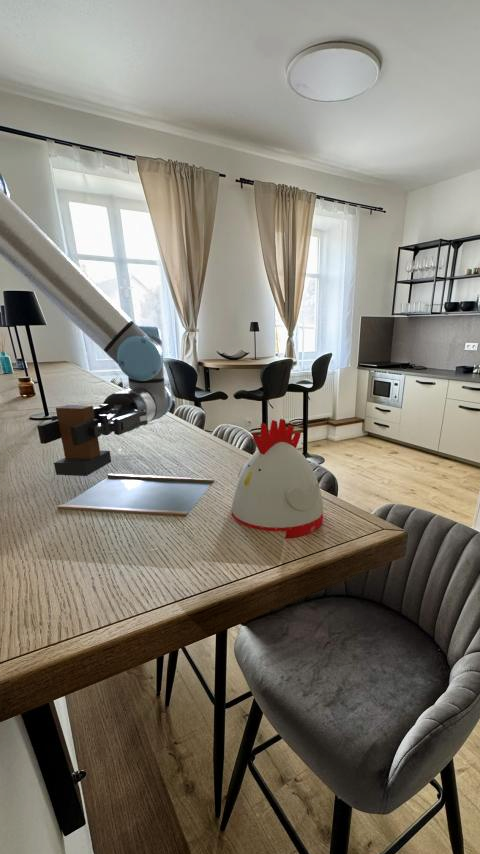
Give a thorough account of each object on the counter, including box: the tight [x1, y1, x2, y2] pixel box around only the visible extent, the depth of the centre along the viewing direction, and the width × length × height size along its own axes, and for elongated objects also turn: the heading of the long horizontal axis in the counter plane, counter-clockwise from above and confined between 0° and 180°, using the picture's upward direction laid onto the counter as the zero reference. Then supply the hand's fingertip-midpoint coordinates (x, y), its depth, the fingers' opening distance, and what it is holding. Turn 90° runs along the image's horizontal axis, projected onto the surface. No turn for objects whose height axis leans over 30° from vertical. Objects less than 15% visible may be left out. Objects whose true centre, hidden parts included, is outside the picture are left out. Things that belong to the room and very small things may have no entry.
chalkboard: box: [57, 473, 215, 517], centre depth 69 cm, size 20×16×2 cm
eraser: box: [53, 404, 112, 477], centre depth 66 cm, size 8×5×10 cm, turn 174°
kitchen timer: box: [231, 418, 324, 539], centre depth 60 cm, size 14×14×15 cm
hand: (57, 435), depth 60 cm, fingers closed on eraser, 4 cm apart
